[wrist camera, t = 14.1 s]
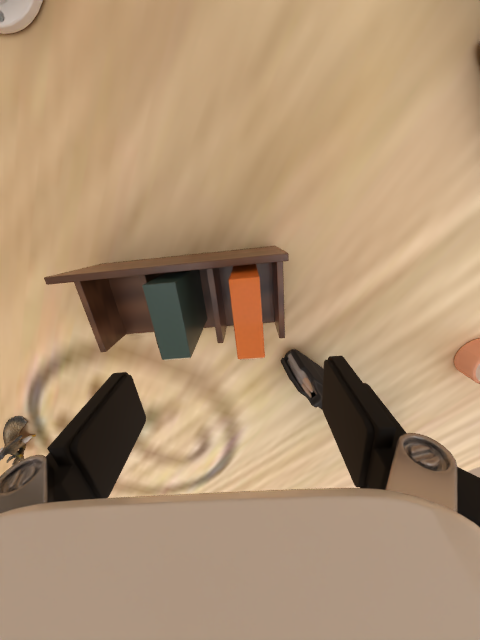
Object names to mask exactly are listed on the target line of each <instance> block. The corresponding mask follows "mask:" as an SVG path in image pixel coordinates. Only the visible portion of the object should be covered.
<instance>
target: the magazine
mask: <svg viewBox="0 0 480 640" xmlns="http://www.w3.org/2000/svg"><path fill="white" fill-rule="evenodd" d="M281 363H282V365H283V367H284V369H285V371H286V373H287V375H288V377H289V379H290V380H291V381H292V382H293V384H294V385H295V387H296V388H297V390H298V391H299V392H300V393H301V394H303V395H304V396H306V397H307V398H308V400H309V401H310V403H311V405H312V406H314V407H319V408H321V409H322V392H323V375H324V369H323V368H321V367H320V366H319V365H317V364H316V363H314V362H313V361H312V360H310V359H309V358H308V357H306V356H305V355H303V354H302V353H300V352H299V351H297V350H296V349H292V350H291V351H289V352H288V353H287V354H286V355H285V357H284V358H282V359H281ZM322 410H323V409H322Z"/></svg>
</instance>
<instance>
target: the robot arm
mask: <svg viewBox="0 0 480 640" xmlns="http://www.w3.org/2000/svg"><path fill="white" fill-rule="evenodd" d="M42 1H43V0H0V33H2V34H8V33H15V32H18V31H20V30H22V29H24V28H25V27H27V26H28V25H29V24H30V23H31V22H32V21H33V19H34V18H35V17H36V15H37V14H38V12H39V9H40V7H41V4H42ZM322 409H323V412H324V415H325V417H326V419H327V422H328V424H329V426H330V429H331V431H332V433H333V436H334V438H335V440H336V443H337V445H338V447H339V450H340V452H341V454H342V457H343V459H344V461H345V464H346V466H347V468H348V471H349V473H350V475H351V478H352V480H353V482H354V484H355V486H356V487H360V488H324V489H291V490H267V491H243V492H221V493H200V494H179V495H158V496H140V497H121V498H108V497H109V495H110V493H111V491H112V489H113V487H114V485H115V483H116V481H117V479H118V477H119V475H120V473H121V471H122V469H123V467H124V465H125V463H126V461H127V459H128V457H129V455H130V453H131V451H132V449H133V447H134V445H135V443H136V441H137V439H138V437H139V434H140V432H141V430H142V428H143V426H144V424H145V421H146V415H145V413H144V410H143V407H142V404H141V401H140V398H139V396H138V393H137V390H136V387H135V384H134V381H133V379H132V376H131V375H128V373H126V372H123V373H114V374H112V375H111V376H110V377H109V378H108V380H107V381H106V382H105V383H104V384H103V385H102V386H101V388H100V389H99V390H98V391H97V392H96V393H95V394H94V396H93V397H92V398H91V399H90V400H89V401H88V402H87V404H86V405H85V406H84V407H83V408H82V409H81V410H80V412H79V413H78V414H77V415H76V416H75V417H74V418H73V420H72V421H71V422H70V423H69V424H68V425H67V426H66V428H65V429H64V430H63V431H62V432H61V433H60V434H59V436H58V437H57V438H56V439H55V440H54V441H53V443H52V444H51V445H50V446H49V447H48V448H47V449H48V450H49V452H50V453H49V454H48V455H47V456H46V457H45V456H43V455H35V456H31V457H28V458H26V459H23V460H21V461H20V462H18V463H16V464H15V465H13V466H12V467H11V468H9V469H8V470H7V471H6V472H4V473H3V474H2V475H1V476H0V640H480V478H479V477H477V476H475V475H472V474H471V473H469V472H466V471H464V470H462V469H460V468H458V467H457V464H456V460H455V459H454V457H453V456H452V454H451V453H450V452H449V451H448V450H447V449H446V448H445V447H444V446H443V445H441V444H440V443H438V442H437V441H435V440H433V439H431V438H429V437H427V436H424V435H421V434H415V433H408V434H407V433H406V432H405V431H404V429H403V428H402V427H401V426H400V424H399V423H398V422H397V421H396V419H395V418H394V417H393V415H392V414H391V413H390V412H389V410H388V409H387V408H386V406H385V405H384V404H383V403H382V401H381V400H380V399H379V398H378V396H377V395H376V394H375V392H374V391H373V390H372V389H371V387H370V386H369V385H368V384H366V383H362V381H361V380H360V379H359V377H358V376H357V375H356V373H355V372H354V371H353V369H352V368H351V367H350V365H349V364H348V363H347V361H346V360H345V359H344V357H343V356H332V357H329V358H328V360H325V361H324V375H323V392H322Z"/></svg>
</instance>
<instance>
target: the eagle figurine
mask: <svg viewBox="0 0 480 640" xmlns="http://www.w3.org/2000/svg"><path fill="white" fill-rule="evenodd" d="M26 423H27V421H25V419H23V417H20V416H18V417H16V416H15V417H14V418H11V419H9V420H8V422H7V423H6V425H5V427H4V431H3V439H4V444H5V446H4V448H1V449H0V460H1V459H3V458H4V456H5V455H7V454H11V455H13V456H11V457H9V459H8V460H7V463H8V462H9V461H10V460H11V459H13V458H15V457H16V458H15V460H14V462H13V464H12V465H15V464H16V463H18V462H19V461H21V460H23V459H24V456H23V454H24V450H25V448H26V443H27V442H28V441H29V440H30V439H32V438H33V437H34V436H36V435H29V436H27V437H26V438H24V439H20V438H21V437H22V435H21V436H19V437H18V435H19V433H20V431H21V429H22V428H23V427H24V426H25V424H26ZM18 449H19V450H18ZM17 450H18V451H17Z"/></svg>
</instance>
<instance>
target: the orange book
mask: <svg viewBox="0 0 480 640" xmlns="http://www.w3.org/2000/svg"><path fill="white" fill-rule="evenodd" d="M229 288H230V297H231V305H232V314H233V322H234V330H235V339H236V347H237V355H238V359H240V360H245V359H259V358H263V357H265V352H264V337H263V322H262V307H261V292H260V277H259V274H258V270H257V267H256V264H251V265H241V266H233V269H232V272H231V274H230V277H229Z"/></svg>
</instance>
